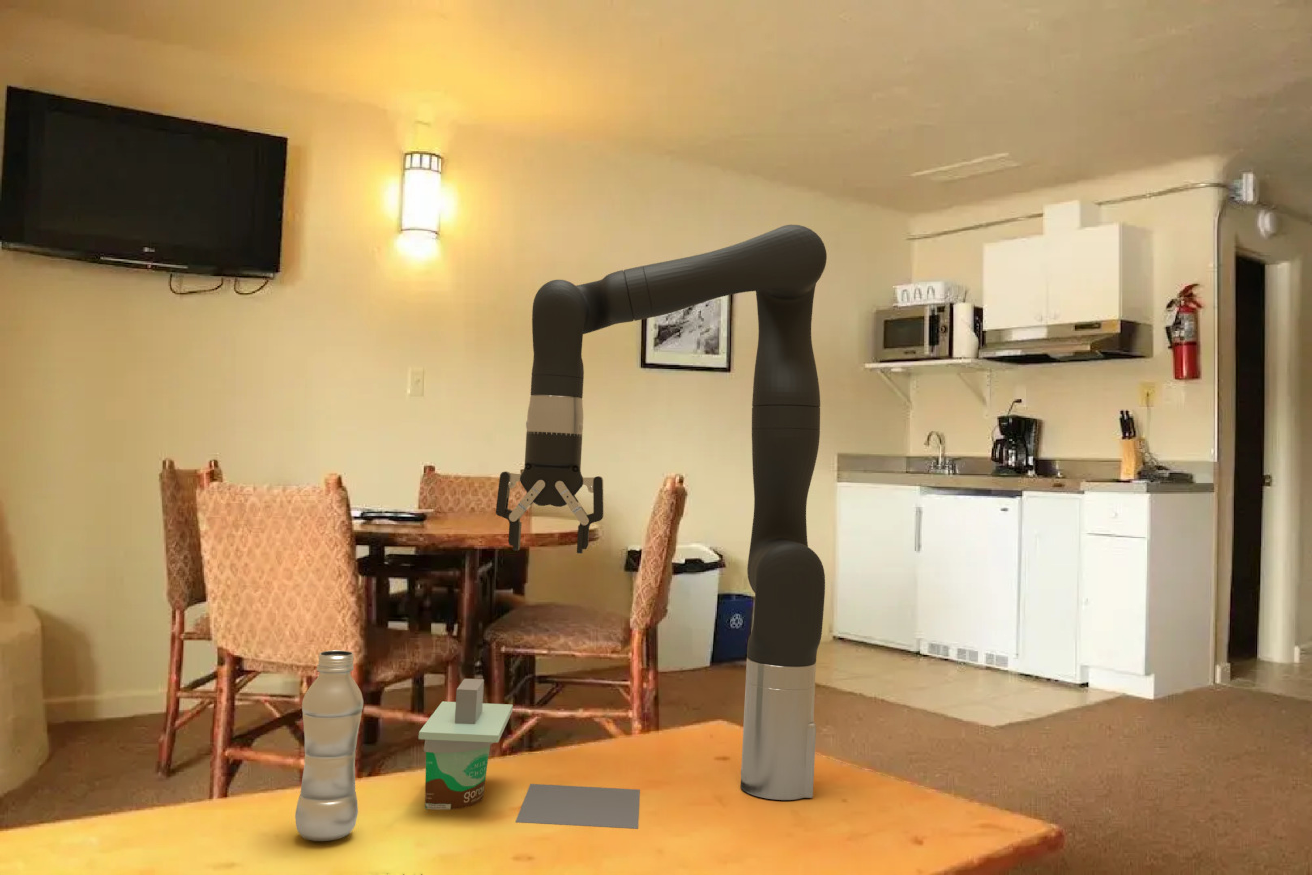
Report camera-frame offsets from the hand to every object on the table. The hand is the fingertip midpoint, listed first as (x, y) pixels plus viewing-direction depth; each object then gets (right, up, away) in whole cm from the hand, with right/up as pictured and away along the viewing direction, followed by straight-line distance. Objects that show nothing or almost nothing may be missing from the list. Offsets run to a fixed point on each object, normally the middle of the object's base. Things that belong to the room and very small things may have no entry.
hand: (547, 551), depth 137 cm
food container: (-9, -30, -14) cm, 34 cm away
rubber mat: (+5, -30, -14) cm, 34 cm away
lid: (-8, -19, -14) cm, 25 cm away
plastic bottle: (-22, -29, -26) cm, 44 cm away
